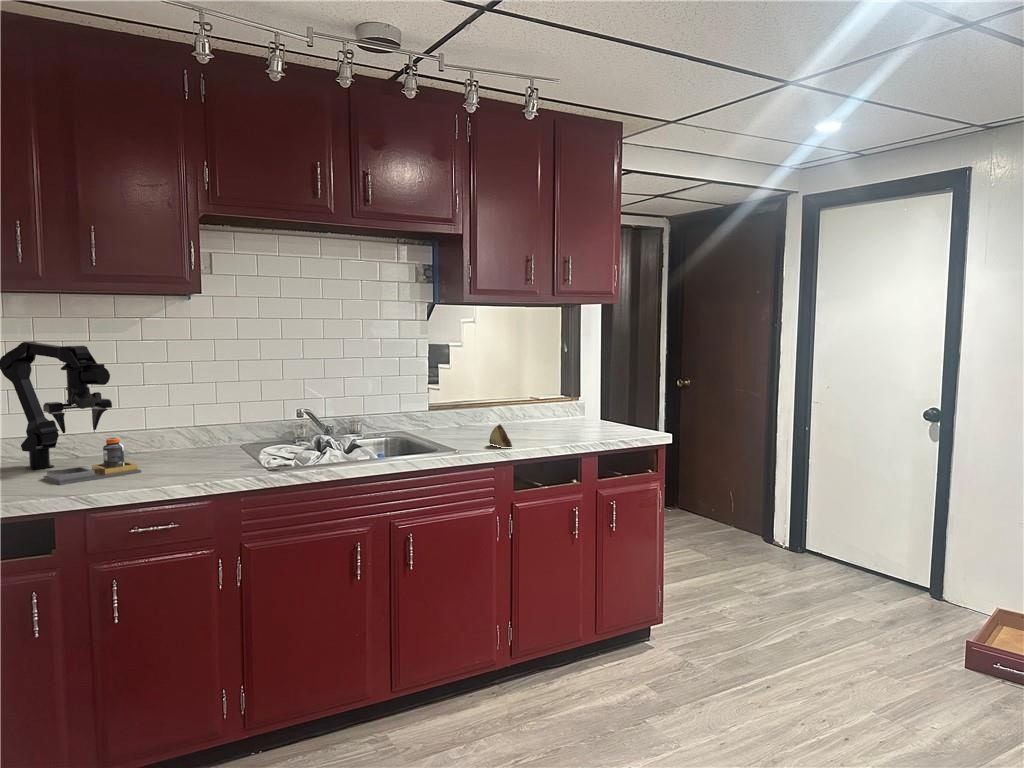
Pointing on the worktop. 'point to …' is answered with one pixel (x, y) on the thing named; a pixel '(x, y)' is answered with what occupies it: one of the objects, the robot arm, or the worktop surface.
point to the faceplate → (89, 473)
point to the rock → (500, 437)
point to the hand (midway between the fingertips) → (79, 431)
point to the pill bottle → (113, 453)
